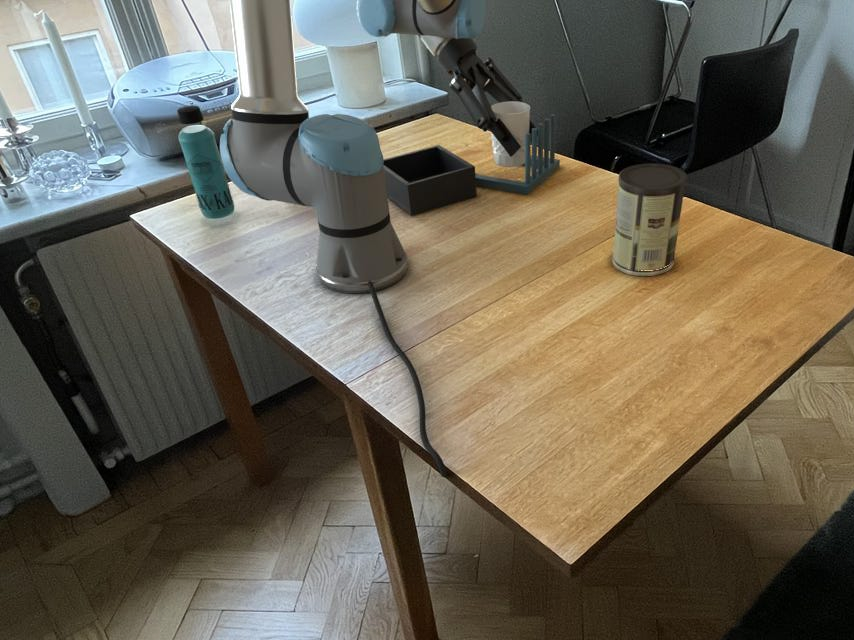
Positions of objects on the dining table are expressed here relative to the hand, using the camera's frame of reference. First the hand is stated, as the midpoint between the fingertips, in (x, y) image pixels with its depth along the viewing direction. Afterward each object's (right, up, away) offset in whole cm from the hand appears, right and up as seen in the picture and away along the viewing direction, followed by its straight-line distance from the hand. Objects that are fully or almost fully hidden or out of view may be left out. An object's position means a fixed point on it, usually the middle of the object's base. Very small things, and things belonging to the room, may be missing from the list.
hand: (525, 144), depth 143 cm
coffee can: (+18, -31, -22) cm, 42 cm away
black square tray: (-20, -9, +1) cm, 22 cm away
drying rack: (-3, -3, +6) cm, 7 cm away
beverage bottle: (-59, -16, -2) cm, 62 cm away
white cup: (-3, -2, +4) cm, 5 cm away
